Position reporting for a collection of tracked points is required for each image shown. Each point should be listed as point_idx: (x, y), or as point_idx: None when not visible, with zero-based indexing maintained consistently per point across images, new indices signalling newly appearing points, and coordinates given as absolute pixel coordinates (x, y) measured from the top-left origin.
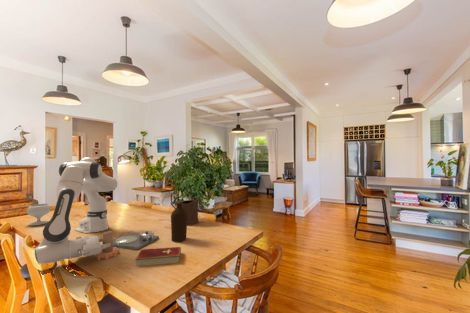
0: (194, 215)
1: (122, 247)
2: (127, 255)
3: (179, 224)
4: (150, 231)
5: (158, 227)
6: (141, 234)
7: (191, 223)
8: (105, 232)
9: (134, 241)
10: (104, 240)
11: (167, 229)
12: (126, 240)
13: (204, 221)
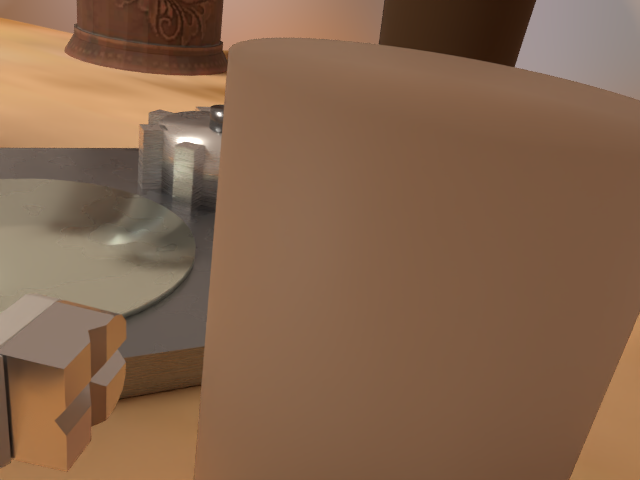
0: (222, 2)
1: (191, 380)
2: (590, 476)
3: (527, 21)
4: (198, 107)
5: (5, 89)
6: (205, 142)
7: (216, 58)
8: (320, 71)
9: (198, 243)
10: (555, 458)
11: (131, 100)
12: (64, 255)
13: (225, 53)
